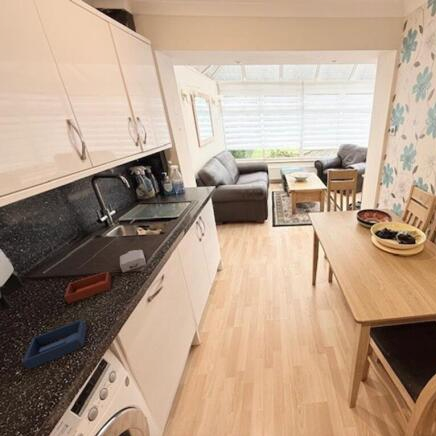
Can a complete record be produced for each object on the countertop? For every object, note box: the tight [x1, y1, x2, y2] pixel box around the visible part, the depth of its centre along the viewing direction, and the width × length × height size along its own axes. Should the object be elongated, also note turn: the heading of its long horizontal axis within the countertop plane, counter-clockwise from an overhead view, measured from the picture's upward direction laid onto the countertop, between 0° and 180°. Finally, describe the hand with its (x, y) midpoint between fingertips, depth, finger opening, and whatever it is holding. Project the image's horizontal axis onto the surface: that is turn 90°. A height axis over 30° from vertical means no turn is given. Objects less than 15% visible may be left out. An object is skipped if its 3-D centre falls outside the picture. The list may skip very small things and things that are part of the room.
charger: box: [119, 249, 147, 273], centre depth 113 cm, size 5×9×15 cm
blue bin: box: [22, 318, 88, 370], centre depth 72 cm, size 12×9×4 cm
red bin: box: [63, 270, 112, 305], centre depth 96 cm, size 13×9×4 cm
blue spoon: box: [38, 332, 77, 354], centre depth 73 cm, size 10×4×2 cm, turn 122°
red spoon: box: [75, 280, 105, 292], centre depth 96 cm, size 10×4×2 cm, turn 122°
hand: (10, 298), depth 66 cm, fingers open, 9 cm apart
